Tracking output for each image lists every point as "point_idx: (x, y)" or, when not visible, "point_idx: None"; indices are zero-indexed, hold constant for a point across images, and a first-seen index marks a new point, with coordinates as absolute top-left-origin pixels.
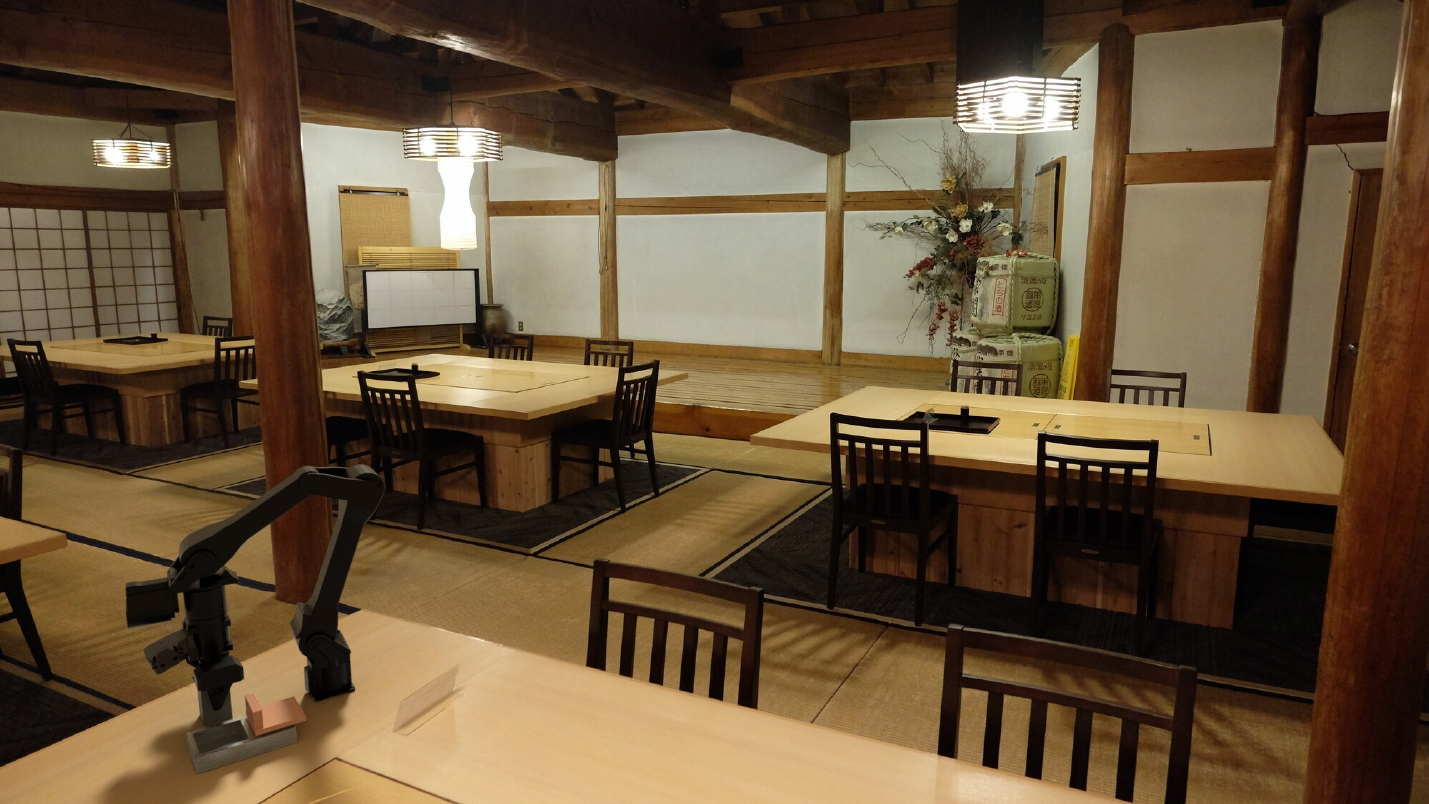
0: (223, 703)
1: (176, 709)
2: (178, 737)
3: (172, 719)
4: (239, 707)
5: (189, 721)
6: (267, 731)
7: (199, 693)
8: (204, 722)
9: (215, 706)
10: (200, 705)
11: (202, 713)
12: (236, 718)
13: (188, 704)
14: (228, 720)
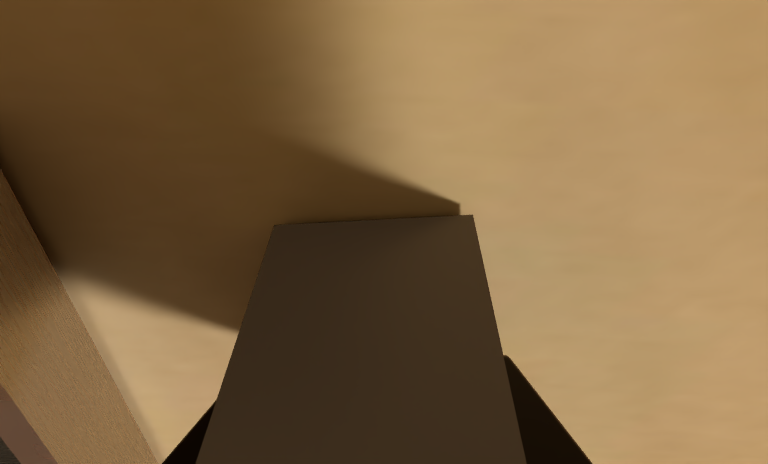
0: None
1: (738, 61)
2: (197, 46)
3: (568, 17)
4: None
5: (435, 140)
6: None
7: (337, 430)
8: (271, 247)
9: None
10: (363, 311)
11: (272, 290)
12: (46, 455)
13: (742, 153)
14: (27, 423)
